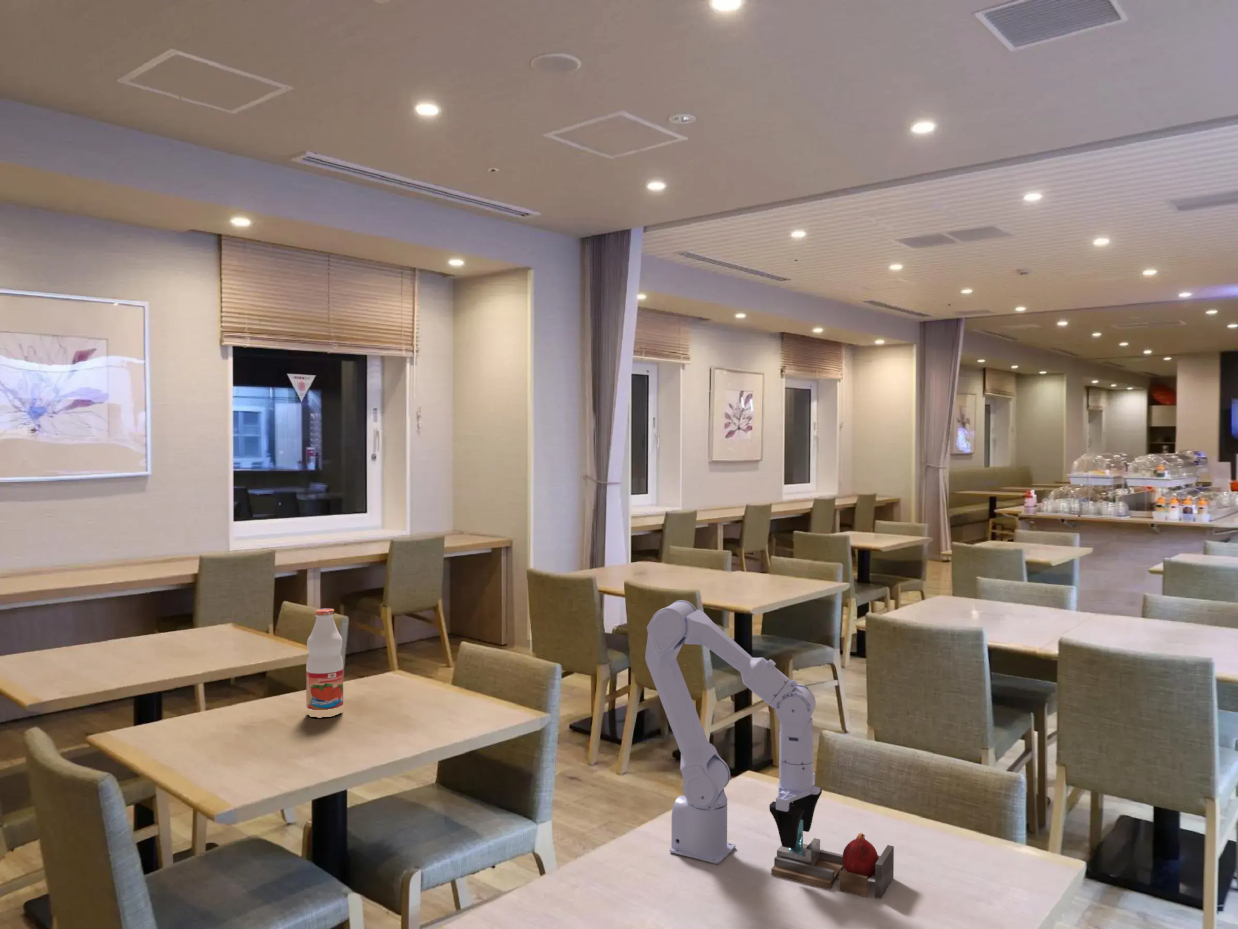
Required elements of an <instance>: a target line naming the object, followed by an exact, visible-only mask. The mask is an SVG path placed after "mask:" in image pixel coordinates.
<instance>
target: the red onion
mask: <svg viewBox="0 0 1238 929" xmlns="http://www.w3.org/2000/svg"><path fill="white" fill-rule="evenodd" d="M865 836H866V835H865V834H864V833H863V832H859V833H858V834H857V836H856V838H854V839H852V840H851V841H849V843H847V844H846V845H845V847H844V849H843V852H842V855H843V865H844V867H845V869H844V871H847V872H851V873H855V874H859V875H863V876H868V880H869V879H871V878H872V877H873V876H875V875H874V874H875V864H876V862H877V861H878V859H879V858H878V856H879V855H878V852H877V849H876V848H875V846H874V845H873V844H872V843H871V842H870V841H869V840H867V839H866V838H865Z"/></svg>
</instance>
